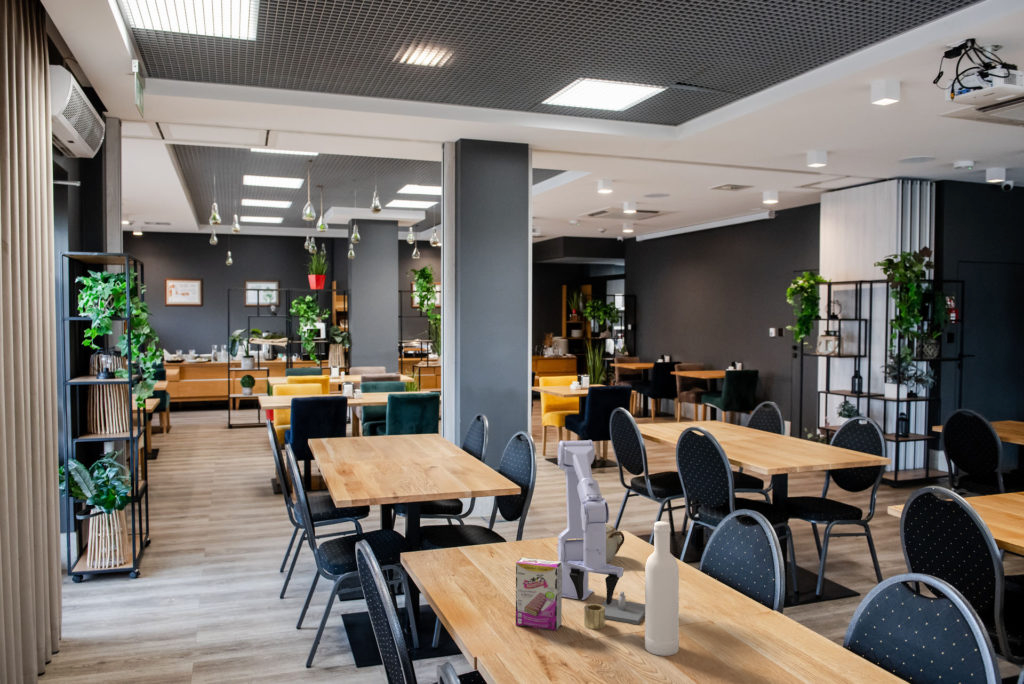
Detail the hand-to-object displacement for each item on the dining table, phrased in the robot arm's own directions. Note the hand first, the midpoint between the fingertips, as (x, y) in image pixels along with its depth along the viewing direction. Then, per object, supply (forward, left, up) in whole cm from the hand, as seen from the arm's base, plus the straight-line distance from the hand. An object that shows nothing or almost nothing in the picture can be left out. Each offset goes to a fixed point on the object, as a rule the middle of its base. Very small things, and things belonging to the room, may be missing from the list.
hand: (594, 601), depth 191 cm
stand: (+4, +11, -6) cm, 13 cm away
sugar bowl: (-16, +52, -7) cm, 55 cm away
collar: (0, 0, -6) cm, 6 cm away
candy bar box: (-13, -6, -7) cm, 16 cm away
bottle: (+19, -7, -6) cm, 21 cm away
